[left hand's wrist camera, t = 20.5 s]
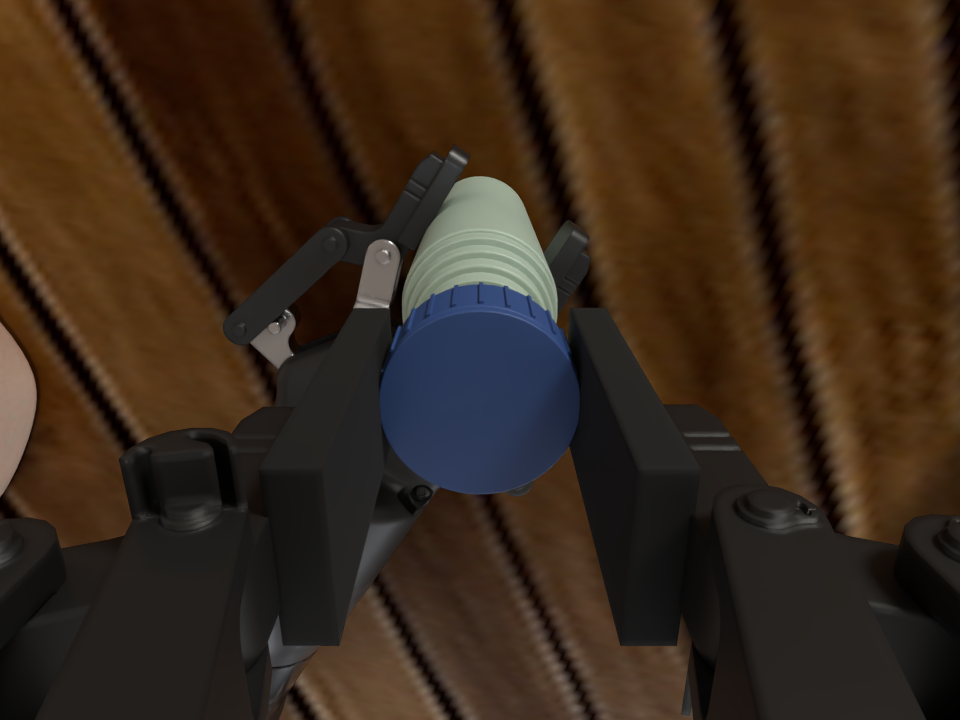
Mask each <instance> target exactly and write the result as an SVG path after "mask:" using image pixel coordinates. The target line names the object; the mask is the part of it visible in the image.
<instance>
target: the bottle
mask: <svg viewBox="0 0 960 720" xmlns="http://www.w3.org/2000/svg"><path fill="white" fill-rule="evenodd" d="M479 282H483V284H486V285H495V286H500V287H504V285H506V286H508V287H509V289H511V290H514V291H517V292H519V293H521V294H523V295H525V296H527V295H530V296H531V298H532V300H533V301H534V302H536V303H537V304H539V305H540V306H541V307H542V308H543V309H544V310H545V311H546V310H547V309H548V310H549V311H550V313H551V316H552V319H553V320H554V321H555V323H556V322H557V301H558V299H557V291H556V286H555V283H554V279H553V277H552V274H551V272H550V269H549V267H548V264H547V262H546V259H545V257H544V254H543V252H542V249H541V247H540V244H539V242H538V239H537V237H536V234H535V232H534V229H533V227H532V224H531V222H530V220H529V217H528V215H527V212H526V210H525V207H524V205H523V203H522V201H521V199H520V197H519V196H518V195H517V194H516V192H515V191H514V190H513V189H512V188H510V187H509V186H508V185H506V184H505V183H503V182H501V181H499V180H497V179H494V178H490V177H483V176H478V177H470V178H466V179H463V180H461V181H458V182H456V183H455V184H454V186H453V188H452V189H451V191H450V193H449V194H448V196H447V198H446V199H445V201H444V203H443V204H442V206H441V208H440V209H439V211H438V213H437V214H436V216H435V218H434V219H433V221H432V223H431V224H430V226H429V227H428V229H427V230H426V232H425V234H424V236H423V238H422V241H421V243H420V246H419V248H418V251H417V253H416V255H415V258H414V260H413V263H412V265H411V268H410V270H409V273H408V275H407V278H406V281H405V284H404V289H403V294H402V317H403V324H404V322H405V321H406V319H407V318H408V317H409V316H410V313H411V310H412V309H413V308H415V309H416V308H417V307H419V306H420V305H421V304H422V303H423V302H425V301H426V300H428V299H430V296H431V294H433V293H435V295H437V294H439V293H441V292H443V291H445V290H448V289H452V288H454V285H458V287H459V286H464V285H473V284H479Z"/></svg>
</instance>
